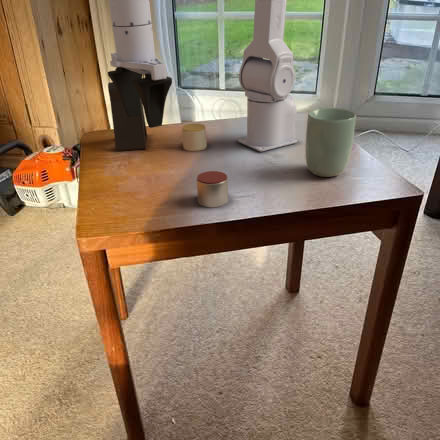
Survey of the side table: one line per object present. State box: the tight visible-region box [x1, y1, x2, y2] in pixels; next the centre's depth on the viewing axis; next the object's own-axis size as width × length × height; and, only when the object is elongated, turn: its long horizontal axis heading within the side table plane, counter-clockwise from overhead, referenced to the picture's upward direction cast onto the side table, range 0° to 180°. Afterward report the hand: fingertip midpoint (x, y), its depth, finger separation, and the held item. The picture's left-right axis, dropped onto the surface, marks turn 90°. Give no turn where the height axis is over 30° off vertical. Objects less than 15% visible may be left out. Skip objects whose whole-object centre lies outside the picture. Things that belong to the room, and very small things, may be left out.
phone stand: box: [107, 81, 148, 152], centre depth 92 cm, size 9×6×12 cm, turn 5°
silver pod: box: [196, 170, 229, 208], centre depth 70 cm, size 5×5×4 cm
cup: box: [304, 107, 357, 178], centre depth 76 cm, size 8×8×10 cm
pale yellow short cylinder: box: [181, 123, 208, 152], centre depth 91 cm, size 5×5×4 cm
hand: (144, 120), depth 73 cm, fingers open, 7 cm apart
